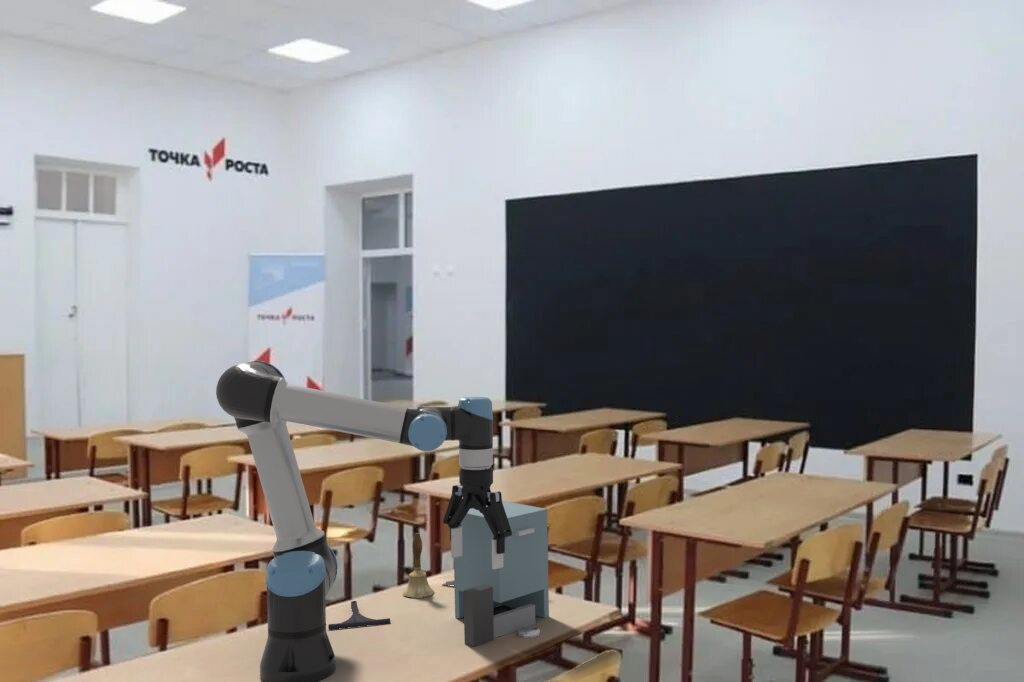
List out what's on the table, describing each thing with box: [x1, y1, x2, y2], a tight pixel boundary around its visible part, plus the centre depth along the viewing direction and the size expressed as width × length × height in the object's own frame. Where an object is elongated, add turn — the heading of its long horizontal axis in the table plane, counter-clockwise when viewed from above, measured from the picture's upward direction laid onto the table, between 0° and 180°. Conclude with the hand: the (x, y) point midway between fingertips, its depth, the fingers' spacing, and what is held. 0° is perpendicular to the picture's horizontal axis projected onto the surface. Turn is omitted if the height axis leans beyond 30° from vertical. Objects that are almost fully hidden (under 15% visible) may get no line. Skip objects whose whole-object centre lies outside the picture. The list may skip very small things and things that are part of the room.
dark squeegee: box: [327, 600, 391, 631], centre depth 219 cm, size 14×15×3 cm
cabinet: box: [453, 500, 550, 620], centre depth 217 cm, size 16×17×26 cm
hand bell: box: [402, 532, 435, 599], centre depth 237 cm, size 8×8×16 cm
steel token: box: [517, 626, 541, 638], centre depth 205 cm, size 5×5×1 cm
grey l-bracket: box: [463, 584, 536, 648], centre depth 205 cm, size 20×3×12 cm, turn 134°
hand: (476, 562), depth 200 cm, fingers open, 13 cm apart
